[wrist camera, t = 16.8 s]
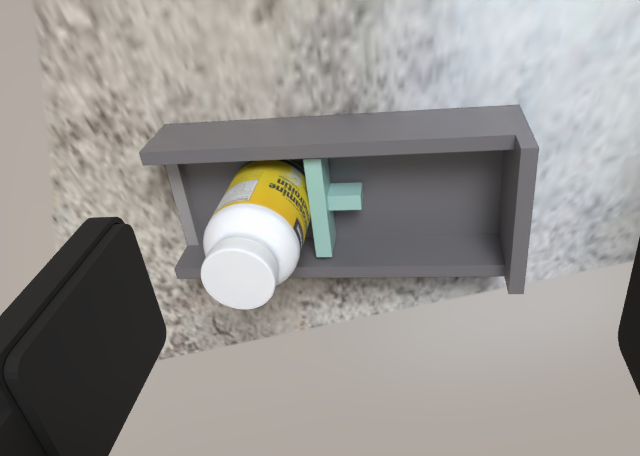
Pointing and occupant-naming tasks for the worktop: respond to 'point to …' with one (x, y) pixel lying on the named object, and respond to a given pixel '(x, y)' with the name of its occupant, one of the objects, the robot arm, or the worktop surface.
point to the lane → (377, 187)
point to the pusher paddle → (328, 202)
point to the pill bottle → (256, 233)
